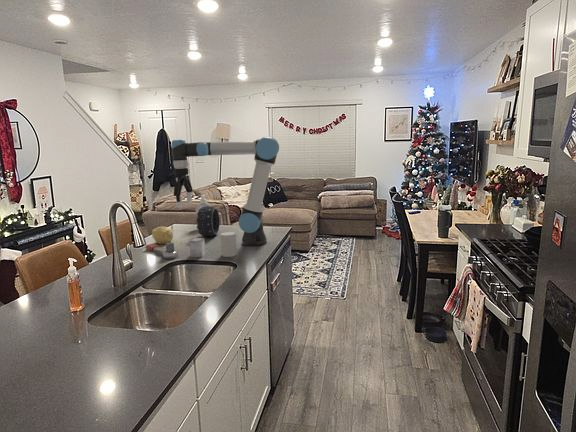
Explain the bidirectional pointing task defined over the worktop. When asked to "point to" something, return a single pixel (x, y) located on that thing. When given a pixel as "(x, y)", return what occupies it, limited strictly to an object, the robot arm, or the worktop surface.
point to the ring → (208, 221)
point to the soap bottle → (202, 204)
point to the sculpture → (162, 235)
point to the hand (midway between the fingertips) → (184, 205)
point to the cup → (228, 244)
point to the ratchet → (164, 250)
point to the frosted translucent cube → (197, 247)
